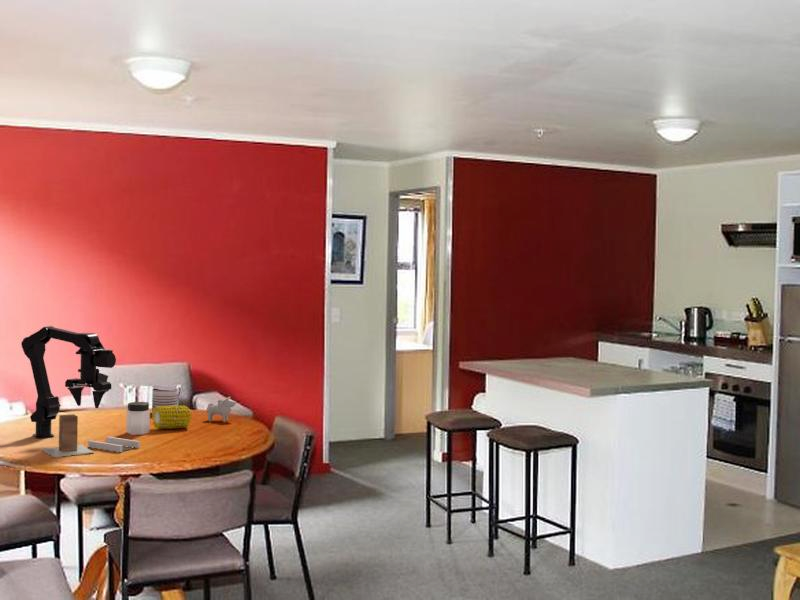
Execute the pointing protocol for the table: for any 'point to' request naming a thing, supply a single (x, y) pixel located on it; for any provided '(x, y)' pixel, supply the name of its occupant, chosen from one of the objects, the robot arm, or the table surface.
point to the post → (68, 432)
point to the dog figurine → (220, 408)
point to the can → (164, 396)
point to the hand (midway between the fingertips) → (87, 406)
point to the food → (171, 417)
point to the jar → (138, 418)
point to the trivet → (57, 453)
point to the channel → (114, 444)
